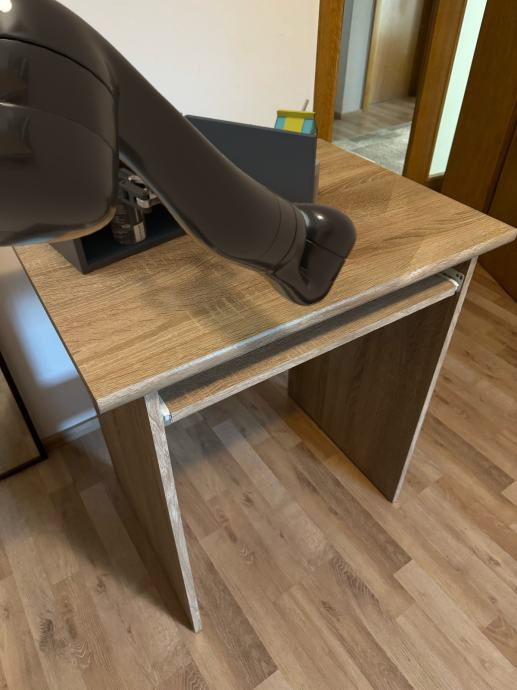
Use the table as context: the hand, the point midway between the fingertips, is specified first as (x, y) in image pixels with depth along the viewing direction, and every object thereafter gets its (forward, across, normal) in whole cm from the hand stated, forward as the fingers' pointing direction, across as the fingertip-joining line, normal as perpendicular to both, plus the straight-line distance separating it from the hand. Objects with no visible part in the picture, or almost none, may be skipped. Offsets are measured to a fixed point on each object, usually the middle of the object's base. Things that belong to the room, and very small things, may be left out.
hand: (147, 167), depth 70 cm
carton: (+4, -34, +17) cm, 38 cm away
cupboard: (+15, 0, +17) cm, 22 cm away
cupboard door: (-4, -18, +16) cm, 24 cm away
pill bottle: (+11, 0, +16) cm, 19 cm away
